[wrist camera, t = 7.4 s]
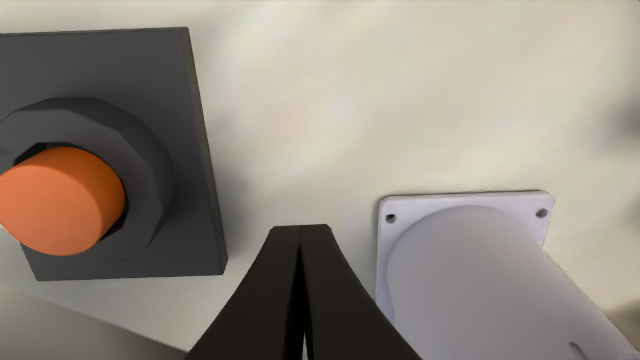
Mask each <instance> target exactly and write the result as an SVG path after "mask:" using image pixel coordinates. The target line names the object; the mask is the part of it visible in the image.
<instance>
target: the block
mask: <svg viewBox="0 0 640 360" xmlns="http://www.w3.org/2000/svg"><path fill="white" fill-rule="evenodd" d="M53 147H73V148H78V149H82V150H84V151H87V152H89V153H91V154H93V155H95V156H97V157H98V158H100V159H101V160H103V161H104V162H105V163H106V164H107V165H109V166H110V167H111V168H112V170H113V171H114V172H115V173H116V175H117V176H118V178H119V180H120V181H121V183H122V186H123V189H124V193H125V205H124V209H123V212H122V214H121V216H120V217H119V218H118V220H117V221H116V222H115V223H114V224H113V225H112V226H111V227H110V228H109V229H108V231H107V232H106V233H105V234H104V235H103V236H102V237H101V238H100V239H99V240H98V242H97V243H96V244H95V245H94V246H93V247H91V248H90V249H88V250H86V251H84V252H82V253H79V254H75V255H69V256H57V255H50V254H45V253H42V252H39V251H36V250H34V249H32V248H30V247H28V246H26V245H24V244H23V243H21V242H19V243H20V245H21V247H22V249H23V251H24V254H25V256H26V258H27V260H28V262H29V264H30V267H31V269H32V271H33V273H34V275H35V277H36V280H37V281H62V280H91V279H121V278H150V277H180V276H209V275H223V274H224V271H225V268H226V265H227V262H228V256H227V250H226V244H225V238H224V232H223V227H222V221H221V215H220V209H219V203H218V198H217V192H216V186H215V180H214V174H213V169H212V163H211V157H210V151H209V145H208V140H207V134H206V128H205V122H204V116H203V111H202V105H201V99H200V93H199V87H198V82H197V76H196V70H195V64H194V58H193V53H192V47H191V41H190V35H189V29H188V28H187V27H171V28H143V29H116V30H88V31H61V32H33V33H6V34H0V175H2V174H3V173H4V172H5V171H7V170H9V169H10V168H12V167H14V166H16V165H18V164H19V163H21V162H23V161H25V160H27V159H29V158H30V157H32V156H34V155H36V154H38V153H40V152H41V151H43V150H46V149H49V148H53Z"/></svg>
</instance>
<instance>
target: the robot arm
mask: <svg viewBox="0 0 640 360" xmlns="http://www.w3.org/2000/svg"><path fill="white" fill-rule="evenodd" d="M554 203H555V199H554V197H553V196H552V195H550V194H549V193H548V192H546V191H529V192H500V193H471V194H442V195H413V196H389V197H386V198H384V199H382V201H381V202H380V205H379V223H378V247H377V271H376V296H375V302H374V301H373V299H372V298H371V296H370V295H369V294H368V292H367V291H366V289H365V288H364V286H363V285H362V283H361V282H360V280H359V279H358V277H357V276H356V274H355V273H354V271H353V270H352V268H351V267H350V265H349V263H348V262H347V260H346V258H345V257H344V255H343V253H342V251H341V250H340V248H339V246H338V244H337V242H336V240H335V238H334V235H333V233H332V230H331V228H330V227H329V226H328V225H327V224H316V225H293V226H274V227H273V228H272V229H271V230H270V231H269V234H268V236H267V238H266V240H265V242H264V244H263V246H262V248H261V250H260V252H259V253H258V255H257V257H256V259H255V260H254V262H253V264H252V265H251V267H250V269H249V270H248V272H247V273H246V275H245V277H244V278H243V280H242V281H241V283H240V284H239V286H238V288H237V289H236V291H235V292H234V293H233V295H232V296H231V298H230V299H229V300H228V302H227V303H226V305H225V306H224V307H223V309H222V310H221V311H220V313H219V314H218V316H217V317H216V318H215V320H214V321H213V322H212V324H211V325H210V326H209V328H208V329H207V330H206V331H205V333H204V334H203V335H202V336H201V338H200V339H199V340H198V341H197V343H196V344H195V345H194V346H193V347H192V349H191V350H190V351H189V352H188V353H187V354H186V356H185V357H184V358H183V359H182V360H302V358H303V345H304V330H305V340H306V348H307V357H308V360H640V353H639V352H638V351H637V349H636V348H635V347H634V346H633V345H632V344H631V343H630V342H629V341H628V340H627V339H626V338H625V337H624V335H623V334H622V333H621V332H620V331H619V330H618V329H617V328H616V327H615V326H614V325H613V324H612V322H611V321H610V320H609V319H608V318H607V317H606V316H605V315H604V314H603V313H602V312H601V311H600V310H599V308H598V307H597V306H596V305H595V304H594V303H593V302H592V301H591V300H590V299H589V298H588V297H587V295H586V294H585V293H584V292H583V291H582V290H581V289H580V288H579V287H578V286H577V285H576V284H575V283H574V281H573V280H572V279H571V278H570V277H569V276H568V275H567V274H566V273H565V272H564V271H563V270H562V268H561V267H560V266H559V265H558V264H557V263H556V262H555V261H554V260H553V259H552V258H551V257H550V256H549V254H548V253H547V252H546V251H545V250H544V249H543V248H542V247H543V244H544V240H545V236H546V233H547V229H548V225H549V222H550V218H551V214H552V211H553V207H554ZM540 209H543V210H542V211H541V212H540V213H539V214H536V213H537V211H538V210H540ZM389 214H394V217H393V218H392V219H386V218H385V217H386V216H387V215H389Z"/></svg>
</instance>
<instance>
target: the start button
mask: <svg viewBox="0 0 640 360" xmlns="http://www.w3.org/2000/svg"><path fill="white" fill-rule="evenodd" d="M124 205H125V193H124V189H123V186H122V183H121V181H120V180H119V178H118V176H117V175H116V173H115V172H114V171H113V170H112V168H111V167H110V166H109V165H107V164H106V163H105V162H104V161H103V160H101V159H100V158H98V157H97V156H95V155H93V154H91V153H89V152H87V151H84V150H82V149H78V148H73V147H53V148H49V149H46V150H43V151H41V152H40V153H38V154H36V155H34V156H32V157H30V158H29V159H27V160H25V161H23V162H21V163H19V164H18V165H16V166H14V167H12V168H10V169H9V170H7V171H5V172H4V173H3V174H2V175H0V223H1V224H2V226H3V227H4V228H5V229H6V230H7V231H8V232H9V233H10V234H11V235H12V236H13V237H14V238H15V239H17V240H18V241H19V242H21V243H23V244H24V245H26V246H28V247H30V248H32V249H34V250H36V251H39V252H42V253H45V254H50V255H57V256H69V255H75V254H79V253H82V252H84V251H86V250H88V249H90V248H91V247H93V246H94V245H95V244H96V243H97V242H98V240H99V239H100V238H101V237H102V236H103V235H104V234H105V233H106V232H107V231H108V229H109V228H110V227H111V226H112V225H113V224H114V223H115V222H116V221H117V220H118V218H119V217H120V216H121V214H122V212H123V209H124Z"/></svg>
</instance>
